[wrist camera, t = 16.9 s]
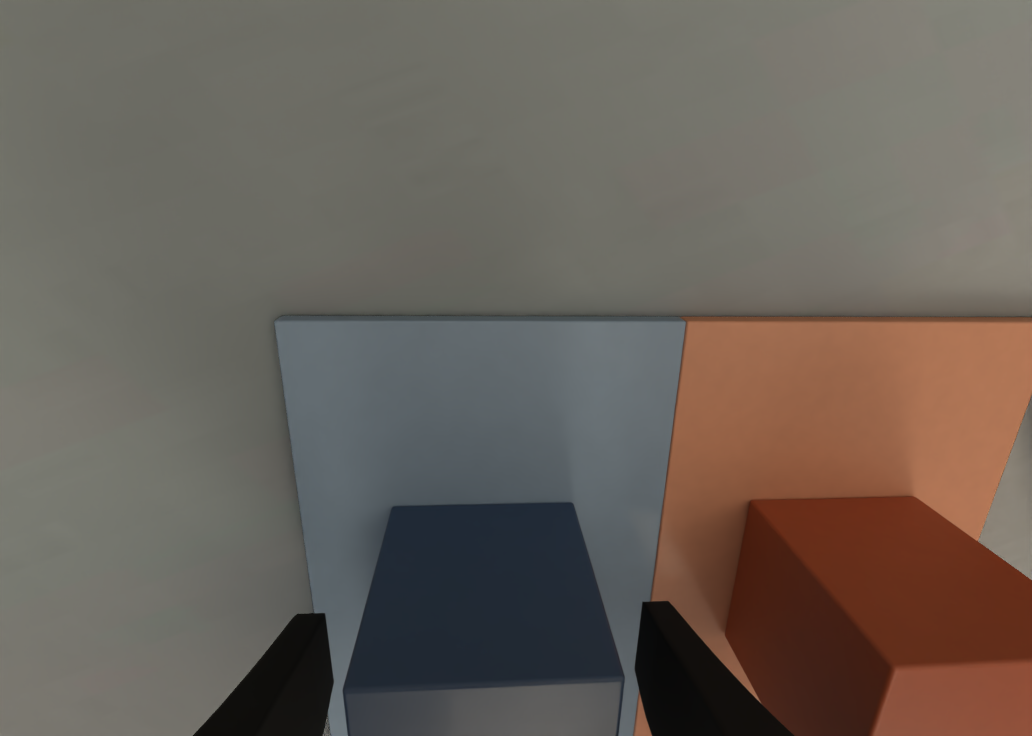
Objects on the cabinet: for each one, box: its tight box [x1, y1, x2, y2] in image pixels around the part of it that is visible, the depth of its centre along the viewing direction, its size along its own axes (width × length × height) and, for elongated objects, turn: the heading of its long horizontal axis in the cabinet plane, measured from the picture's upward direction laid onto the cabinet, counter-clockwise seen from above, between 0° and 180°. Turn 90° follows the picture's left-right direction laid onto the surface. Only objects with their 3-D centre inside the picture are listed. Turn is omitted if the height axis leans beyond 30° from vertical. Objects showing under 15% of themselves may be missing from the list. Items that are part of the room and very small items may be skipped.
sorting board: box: [274, 316, 1032, 736], centre depth 14 cm, size 14×18×1 cm
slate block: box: [342, 502, 625, 736], centre depth 11 cm, size 4×4×5 cm
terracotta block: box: [725, 496, 1032, 736], centre depth 12 cm, size 4×4×5 cm
